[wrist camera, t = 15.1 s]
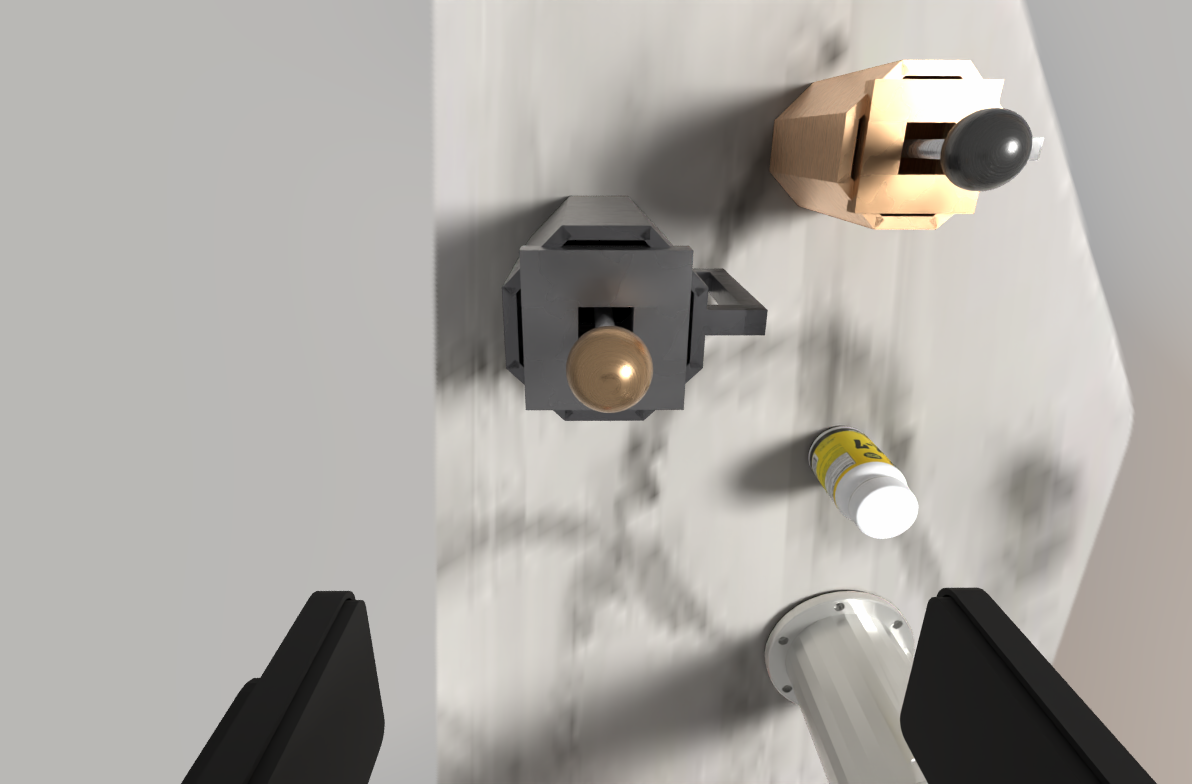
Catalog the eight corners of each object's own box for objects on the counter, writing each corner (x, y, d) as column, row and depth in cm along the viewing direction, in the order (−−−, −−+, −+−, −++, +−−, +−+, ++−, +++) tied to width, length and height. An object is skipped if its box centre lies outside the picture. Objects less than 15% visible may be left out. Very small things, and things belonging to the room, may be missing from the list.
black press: (715, 196, 40) (789, 228, 26) (705, 330, 44) (766, 427, 29) (528, 195, 40) (496, 227, 25) (533, 331, 43) (507, 428, 29)
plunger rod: (623, 244, 40) (659, 340, 21) (622, 293, 41) (655, 427, 22) (574, 244, 40) (563, 340, 21) (574, 293, 41) (565, 427, 22)
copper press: (938, 83, 38) (1086, 59, 27) (915, 206, 41) (1041, 231, 29) (778, 82, 38) (859, 57, 27) (765, 205, 41) (834, 231, 29)
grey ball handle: (864, 119, 38) (1062, 105, 22) (856, 172, 39) (1039, 194, 23) (814, 119, 38) (978, 105, 22) (808, 172, 39) (959, 194, 23)
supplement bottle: (882, 445, 47) (941, 505, 39) (840, 490, 49) (889, 557, 41) (835, 412, 46) (886, 468, 38) (793, 459, 48) (834, 522, 40)
